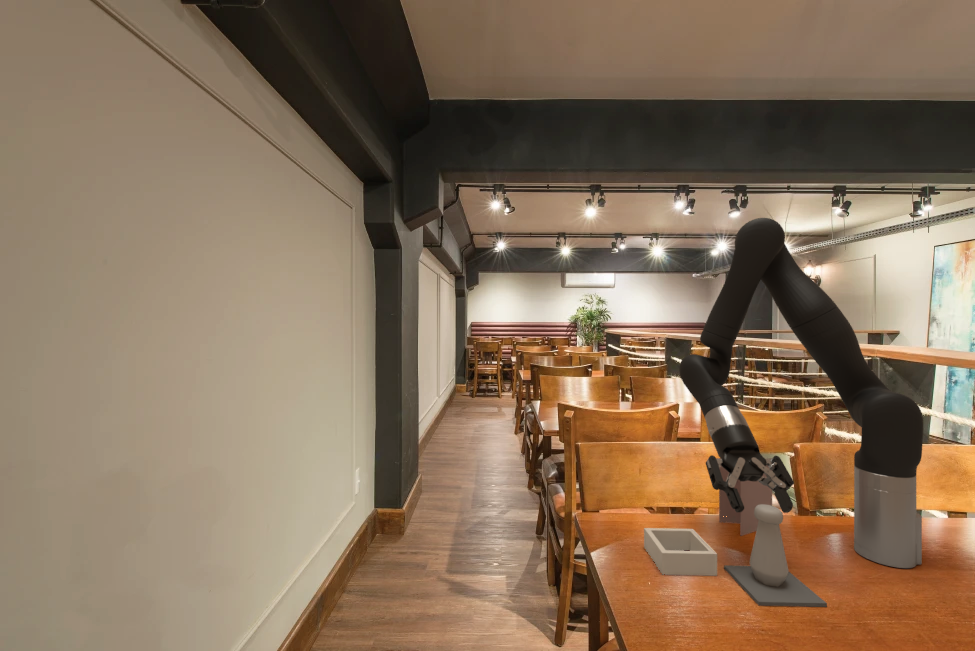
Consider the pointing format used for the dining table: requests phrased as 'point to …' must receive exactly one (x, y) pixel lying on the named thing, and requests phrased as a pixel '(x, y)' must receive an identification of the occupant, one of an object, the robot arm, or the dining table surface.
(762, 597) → the mat
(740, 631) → the dining table surface
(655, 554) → the collar
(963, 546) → the dining table surface
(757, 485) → the greeting card
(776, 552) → the salt shaker
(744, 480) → the robot arm
